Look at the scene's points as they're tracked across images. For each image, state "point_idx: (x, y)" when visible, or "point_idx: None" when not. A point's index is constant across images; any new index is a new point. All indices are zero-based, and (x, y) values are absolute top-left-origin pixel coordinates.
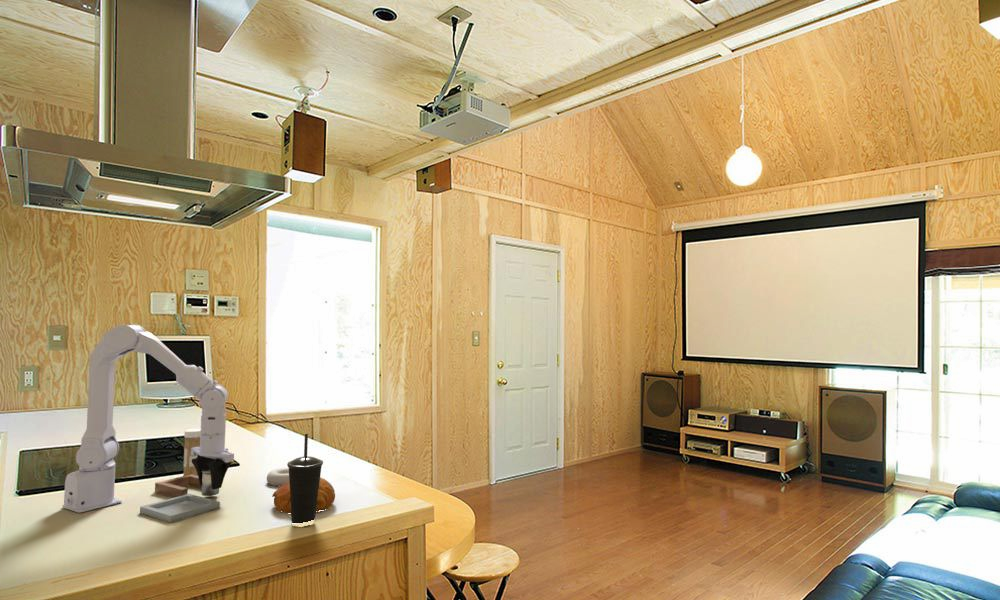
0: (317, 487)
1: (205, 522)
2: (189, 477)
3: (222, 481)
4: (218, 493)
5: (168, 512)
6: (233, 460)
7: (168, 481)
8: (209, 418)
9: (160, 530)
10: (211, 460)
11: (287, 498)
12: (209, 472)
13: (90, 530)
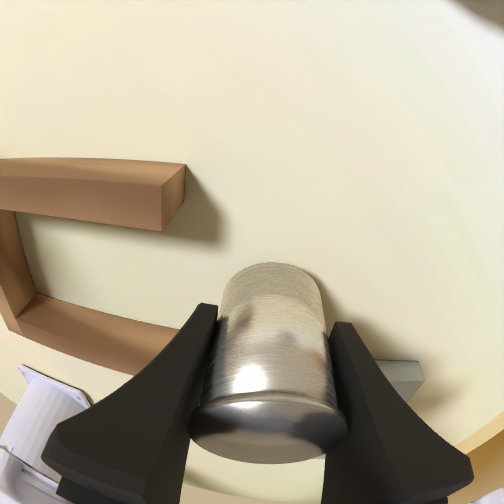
0: None
1: (429, 417)
2: None
3: (366, 352)
4: (316, 285)
5: (323, 455)
6: (502, 492)
7: (8, 303)
8: None
9: None
10: (162, 468)
11: None
12: (304, 458)
13: (228, 471)
